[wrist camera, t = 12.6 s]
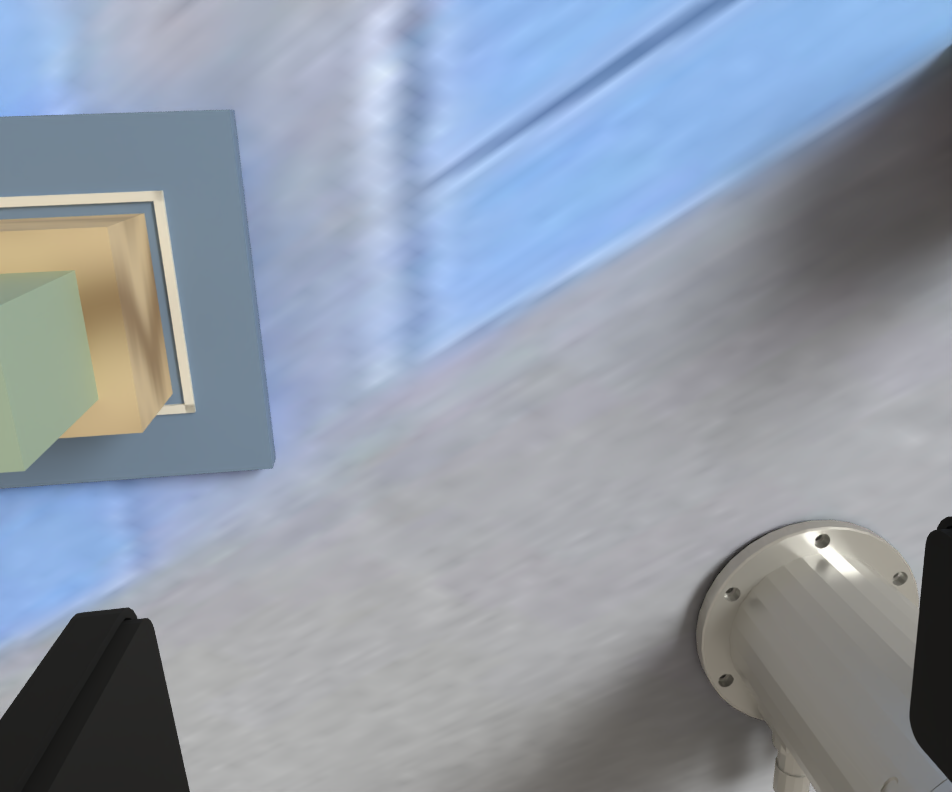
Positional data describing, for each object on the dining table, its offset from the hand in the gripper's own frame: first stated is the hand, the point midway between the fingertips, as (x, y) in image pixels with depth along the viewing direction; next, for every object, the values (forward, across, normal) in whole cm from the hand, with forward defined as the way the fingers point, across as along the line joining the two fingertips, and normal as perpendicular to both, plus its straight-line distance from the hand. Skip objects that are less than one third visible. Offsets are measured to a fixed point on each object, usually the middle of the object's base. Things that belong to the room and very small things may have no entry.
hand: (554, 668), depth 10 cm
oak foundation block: (+28, +16, 0) cm, 32 cm away
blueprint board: (+29, +16, 0) cm, 33 cm away
